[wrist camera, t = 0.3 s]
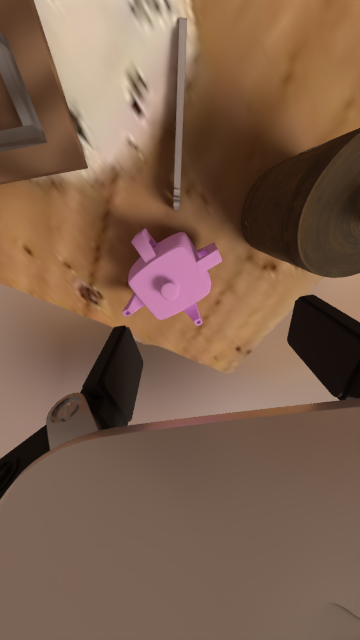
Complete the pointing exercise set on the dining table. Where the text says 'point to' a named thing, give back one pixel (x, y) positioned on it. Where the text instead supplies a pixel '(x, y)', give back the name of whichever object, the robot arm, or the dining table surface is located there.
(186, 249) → the teakettle
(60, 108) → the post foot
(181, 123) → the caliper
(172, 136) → the dining table surface
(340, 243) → the wooden container
